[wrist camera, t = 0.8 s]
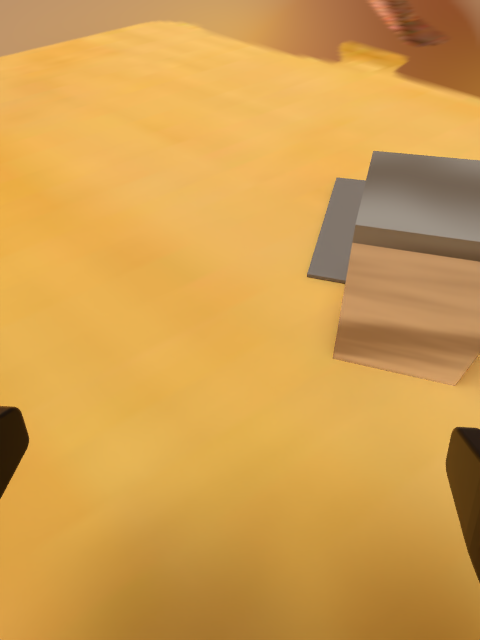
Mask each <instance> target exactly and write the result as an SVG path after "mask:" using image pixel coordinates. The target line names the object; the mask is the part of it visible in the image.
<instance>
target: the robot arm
mask: <svg viewBox="0 0 480 640" xmlns="http://www.w3.org/2000/svg"><path fill="white" fill-rule="evenodd" d="M28 444H29V436H28V432H27V429H26V426H25V423H24V419H23V416H22V413H21V411H20V410H19V409H18V408H16V407H8V406H0V499H1V497H2V495H3V493H4V491H5V489H6V487H7V485H8V484H9V482H10V480H11V478H12V476H13V474H14V472H15V470H16V468H17V467H18V465H19V463H20V461H21V459H22V457H23V455H24V453H25V451H26V450H27V447H28ZM446 472H447V476H448V480H449V484H450V488H451V491H452V495H453V499H454V502H455V506H456V510H457V514H458V517H459V521H460V525H461V528H462V532H463V536H464V539H465V543H466V546H467V550H468V553H469V556H470V559H471V561H472V564H473V567H474V569H475V572H476V575H477V577H478V580H479V582H480V429H478V428H467V427H456V428H455V429H453V431H452V434H451V438H450V443H449V448H448V453H447V458H446Z"/></svg>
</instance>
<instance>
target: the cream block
mask: <svg viewBox="0 0 480 640" xmlns="http://www.w3.org/2000/svg"><path fill="white" fill-rule="evenodd" d="M479 353H480V161H479V160H468V159H457V158H446V157H435V156H424V155H413V154H402V153H391V152H380V151H373V154H372V159H371V163H370V167H369V171H368V175H367V179H366V183H365V187H364V191H363V195H362V199H361V204H360V208H359V212H358V216H357V220H356V224H355V230H354V236H353V242H352V247H351V253H350V259H349V265H348V271H347V277H346V283H345V289H344V295H343V301H342V307H341V313H340V319H339V324H338V330H337V336H336V342H335V348H334V354H333V359H337V360H342V361H346V362H351V363H355V364H360V365H364V366H369V367H373V368H377V369H382V370H386V371H391V372H395V373H400V374H404V375H409V376H413V377H417V378H422V379H426V380H431V381H435V382H440V383H444V384H449V385H453V386H455V385H456V383H457V382H458V381H459V380H460V378H461V377H462V376H463V374H464V373H465V372H466V370H467V369H468V368H469V366H470V365H471V364H472V363H473V361H474V360H475V359H476V357H477V356H478V355H479Z"/></svg>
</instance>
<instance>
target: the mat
mask: <svg viewBox="0 0 480 640" xmlns="http://www.w3.org/2000/svg"><path fill="white" fill-rule="evenodd" d="M365 183H366V181H364V180H354V179H345V178H336V182H335V185H334V188H333V191H332V195H331V198H330V201H329V205H328V208H327V211H326V214H325V218H324V221H323V224H322V228H321V231H320V234H319V237H318V241H317V244H316V247H315V251H314V254H313V257H312V260H311V264H310V267H309V270H308V273H307V277H311V278H317V279H323V280H328V281H334V282H340V283H346V277H347V271H348V265H349V259H350V253H351V247H352V242H353V236H354V230H355V224H356V220H357V216H358V212H359V208H360V204H361V199H362V195H363V191H364V187H365Z"/></svg>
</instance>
